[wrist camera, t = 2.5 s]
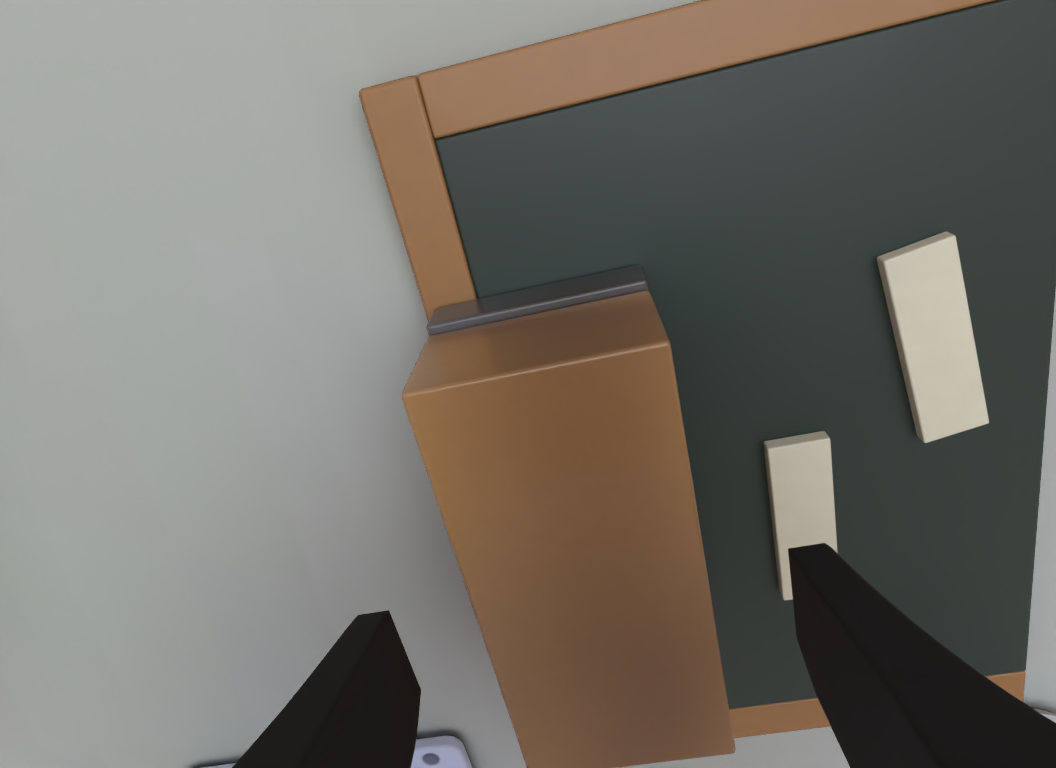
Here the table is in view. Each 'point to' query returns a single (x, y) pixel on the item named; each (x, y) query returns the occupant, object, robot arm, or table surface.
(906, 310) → the chalk mark
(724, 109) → the chalkboard
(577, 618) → the duster
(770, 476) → the chalk mark
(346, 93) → the table surface
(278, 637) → the table surface
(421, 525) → the table surface
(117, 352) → the table surface
